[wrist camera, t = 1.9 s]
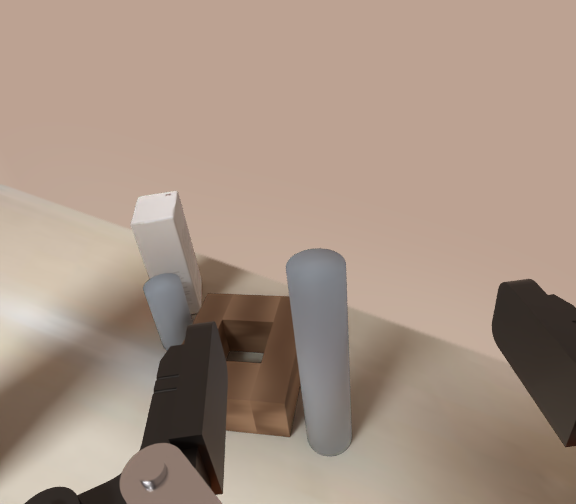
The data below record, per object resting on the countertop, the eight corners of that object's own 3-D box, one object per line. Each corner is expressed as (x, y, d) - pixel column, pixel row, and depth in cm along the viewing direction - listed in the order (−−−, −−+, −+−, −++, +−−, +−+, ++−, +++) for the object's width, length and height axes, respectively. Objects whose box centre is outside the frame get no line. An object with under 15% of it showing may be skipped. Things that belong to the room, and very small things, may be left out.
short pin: (157, 350, 43) (136, 295, 40) (170, 326, 46) (152, 272, 42) (189, 352, 43) (171, 296, 39) (201, 328, 45) (185, 273, 42)
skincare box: (166, 287, 52) (137, 195, 45) (202, 280, 52) (178, 189, 46) (162, 321, 47) (128, 223, 40) (202, 314, 47) (175, 216, 41)
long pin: (304, 453, 33) (280, 282, 24) (310, 414, 36) (291, 248, 27) (350, 458, 32) (343, 284, 23) (353, 418, 35) (347, 248, 26)
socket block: (169, 424, 36) (156, 392, 34) (215, 323, 46) (208, 293, 44) (289, 437, 34) (284, 403, 32) (311, 328, 44) (308, 297, 42)
